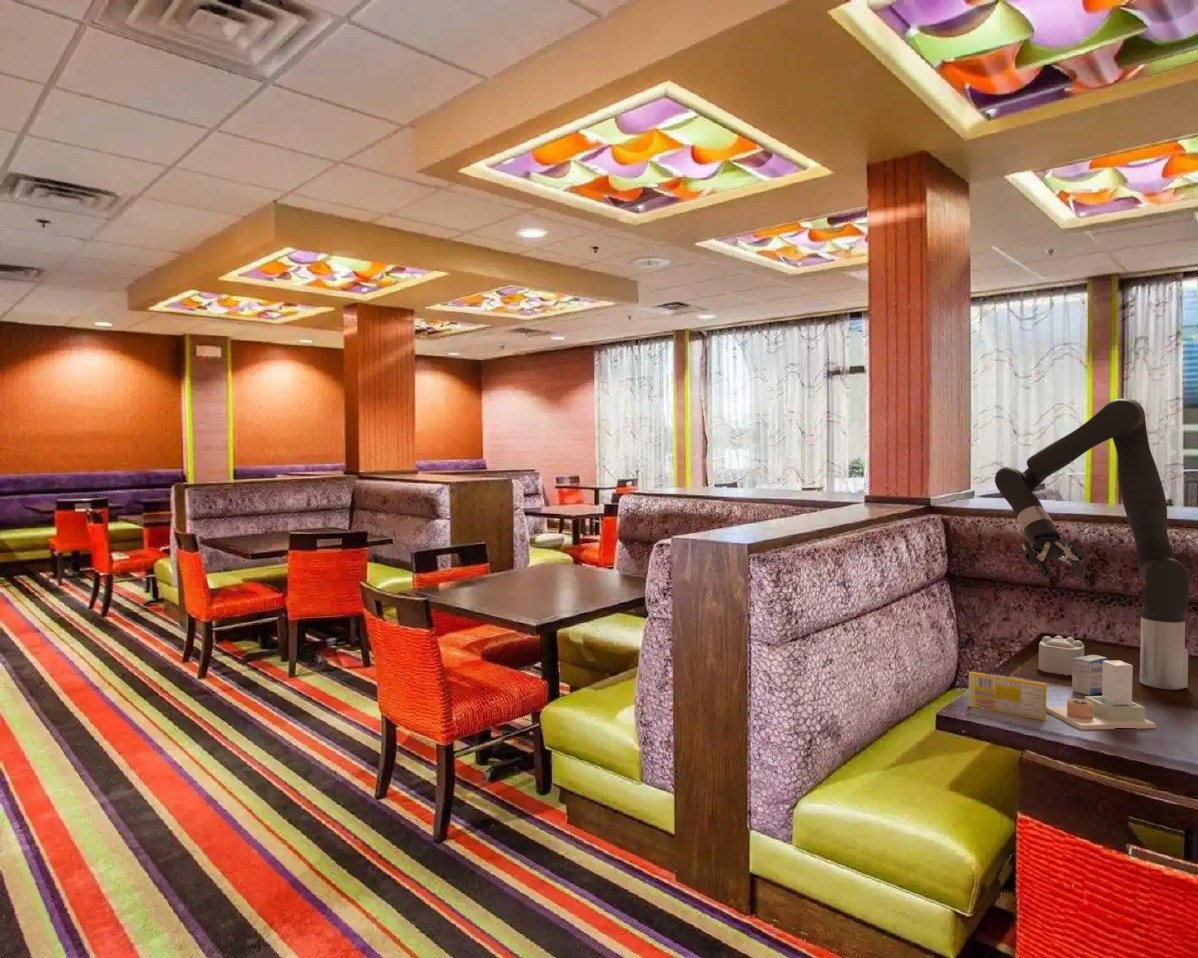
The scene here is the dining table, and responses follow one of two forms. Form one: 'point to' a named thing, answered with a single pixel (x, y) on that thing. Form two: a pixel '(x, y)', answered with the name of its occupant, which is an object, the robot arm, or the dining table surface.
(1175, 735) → the dining table surface
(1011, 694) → the candy box
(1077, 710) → the organizer
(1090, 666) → the medicine box
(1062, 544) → the robot arm
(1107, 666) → the plain beige rectangular box
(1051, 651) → the lumpy-topped squat cylinder
